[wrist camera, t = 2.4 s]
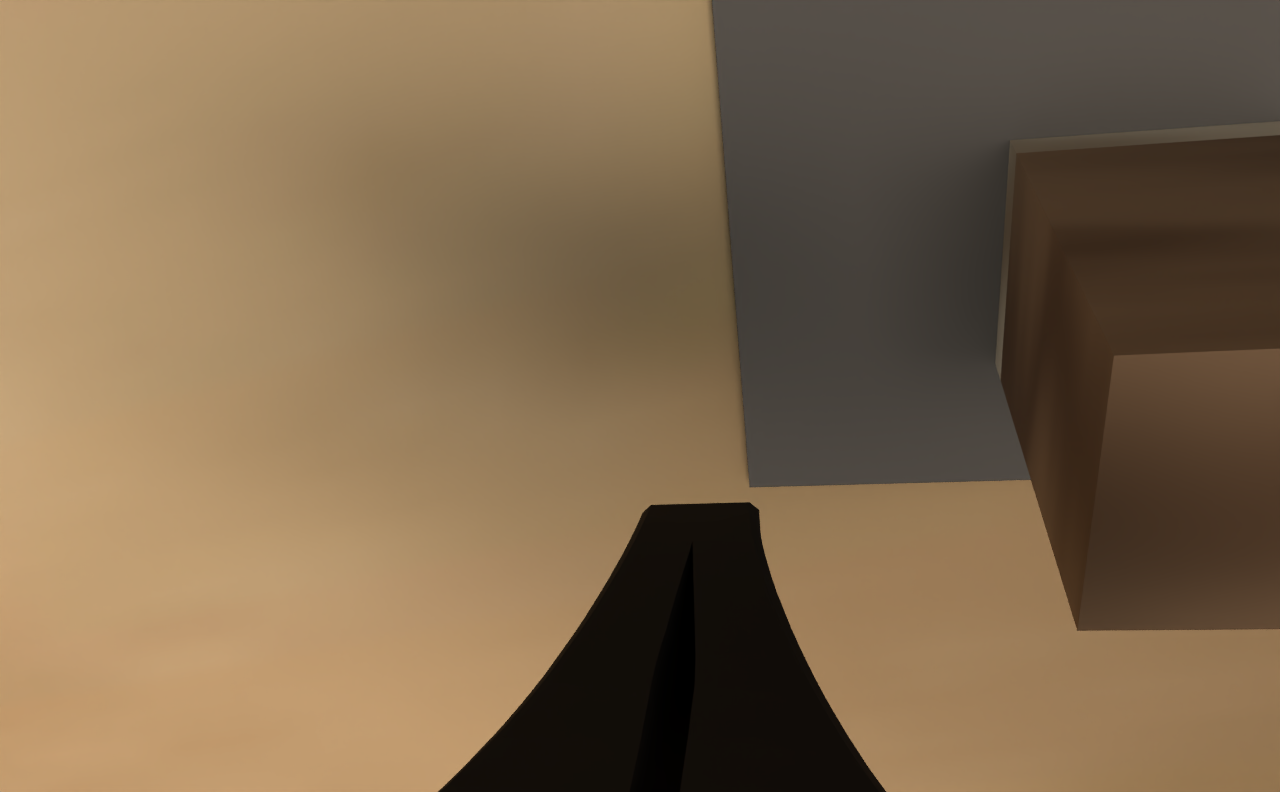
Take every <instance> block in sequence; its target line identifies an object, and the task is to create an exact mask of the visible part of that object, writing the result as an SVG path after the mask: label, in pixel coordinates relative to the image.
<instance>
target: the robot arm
mask: <svg viewBox="0 0 1280 792" xmlns="http://www.w3.org/2000/svg"><path fill="white" fill-rule="evenodd" d="M438 792H886V791H885V790H884V788H883V787H882V785H881V784H880V783H879V781H878V780H877V779H876V777H875V776H874V775H873V773H872V772H871V771H870V769H869V768H868V766H867V765H866V763H865V762H864V760H863V758H862V757H861V755H860V754H859V752H858V751H857V749H856V748H855V746H854V745H853V743H852V742H851V740H850V738H849V737H848V735H847V734H846V732H845V730H844V729H843V727H842V725H841V724H840V722H839V720H838V719H837V717H836V715H835V714H834V712H833V710H832V709H831V707H830V705H829V703H828V701H827V700H826V698H825V696H824V694H823V692H822V691H821V689H820V687H819V685H818V683H817V681H816V679H815V677H814V675H813V673H812V671H811V669H810V667H809V665H808V663H807V661H806V659H805V657H804V655H803V653H802V651H801V649H800V647H799V645H798V643H797V640H796V638H795V636H794V634H793V631H792V629H791V627H790V624H789V622H788V619H787V617H786V614H785V612H784V609H783V607H782V604H781V602H780V599H779V597H778V594H777V592H776V589H775V586H774V583H773V580H772V577H771V574H770V570H769V567H768V564H767V560H766V557H765V553H764V549H763V545H762V540H761V533H760V519H759V510H758V509H757V508H756V507H755V506H753V505H752V504H751V503H749V502H746V503H709V504H672V505H651V506H649V507H648V508H647V509H646V510H645V511H644V512H643V514H642V516H641V518H640V520H639V523H638V525H637V527H636V529H635V531H634V533H633V535H632V537H631V539H630V541H629V543H628V545H627V547H626V549H625V551H624V553H623V554H622V556H621V558H620V560H619V562H618V564H617V565H616V567H615V569H614V571H613V572H612V574H611V576H610V578H609V579H608V581H607V583H606V584H605V586H604V588H603V589H602V591H601V592H600V594H599V596H598V597H597V599H596V601H595V602H594V604H593V605H592V607H591V609H590V610H589V612H588V613H587V615H586V617H585V618H584V620H583V621H582V623H581V624H580V626H579V627H578V629H577V630H576V632H575V633H574V635H573V636H572V637H571V639H570V640H569V642H568V643H567V644H566V646H565V647H564V649H563V650H562V651H561V653H560V654H559V656H558V657H557V658H556V660H555V661H554V663H553V664H552V665H551V667H550V668H549V670H548V671H547V672H546V674H545V675H544V676H543V678H542V679H541V680H540V681H539V683H538V684H537V685H536V686H535V688H534V689H533V690H532V692H531V693H530V694H529V695H528V696H527V698H526V699H525V700H524V701H523V703H522V704H521V705H520V706H519V707H518V708H517V710H516V711H515V712H514V713H513V714H512V715H511V717H510V718H509V719H508V720H507V721H506V722H505V724H504V725H503V726H502V727H501V728H500V729H499V730H498V731H497V733H496V734H495V735H494V736H493V737H492V738H491V739H490V740H489V741H488V742H487V743H486V744H485V745H484V746H483V747H482V748H481V749H480V750H479V751H478V753H477V754H476V755H475V756H474V757H473V758H472V759H471V760H470V761H469V762H468V763H467V764H466V765H465V766H464V767H463V768H462V769H461V770H460V771H459V772H458V773H457V774H456V775H455V776H454V777H453V778H452V779H451V780H450V781H449V782H448V783H447V784H446V785H445V786H444V787H443V788H442V789H440V790H439V791H438Z"/></svg>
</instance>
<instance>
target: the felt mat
mask: <svg viewBox="0 0 1280 792" xmlns="http://www.w3.org/2000/svg"><path fill="white" fill-rule="evenodd" d="M712 6H713V19H714V32H715V45H716V58H717V71H718V84H719V97H720V110H721V122H722V135H723V148H724V161H725V174H726V187H727V200H728V213H729V226H730V239H731V252H732V265H733V278H734V291H735V303H736V316H737V329H738V342H739V355H740V368H741V381H742V394H743V407H744V420H745V433H746V446H747V459H748V471H749V484H750V487H780V486H817V485H854V484H892V483H929V482H966V481H1003V480H1031V478H1030V475H1029V472H1028V468H1027V465H1026V462H1025V459H1024V455H1023V452H1022V449H1021V446H1020V442H1019V439H1018V436H1017V433H1016V429H1015V426H1014V423H1013V420H1012V416H1011V413H1010V410H1009V407H1008V403H1007V400H1006V397H1005V394H1004V390H1003V387H1002V384H1001V381H1000V377H999V374H998V371H997V368H996V364H995V359H996V344H997V329H998V314H999V299H1000V284H1001V269H1002V254H1003V239H1004V224H1005V209H1006V194H1007V179H1008V164H1009V149H1010V140H1020V139H1034V138H1048V137H1062V136H1076V135H1090V134H1104V133H1119V132H1133V131H1147V130H1161V129H1175V128H1189V127H1203V126H1218V125H1232V124H1246V123H1260V122H1274V121H1280V0H712Z"/></svg>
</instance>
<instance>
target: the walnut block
mask: <svg viewBox="0 0 1280 792" xmlns="http://www.w3.org/2000/svg"><path fill="white" fill-rule="evenodd" d="M995 364H996V368H997V371H998V374H999V377H1000V381H1001V384H1002V387H1003V390H1004V394H1005V397H1006V400H1007V403H1008V407H1009V410H1010V413H1011V416H1012V420H1013V423H1014V426H1015V429H1016V433H1017V436H1018V439H1019V442H1020V446H1021V449H1022V452H1023V455H1024V459H1025V462H1026V465H1027V468H1028V472H1029V475H1030V478H1031V481H1032V485H1033V488H1034V491H1035V494H1036V498H1037V501H1038V504H1039V507H1040V511H1041V514H1042V517H1043V520H1044V524H1045V527H1046V530H1047V533H1048V537H1049V540H1050V543H1051V546H1052V550H1053V553H1054V556H1055V559H1056V563H1057V566H1058V569H1059V572H1060V576H1061V579H1062V582H1063V585H1064V589H1065V592H1066V595H1067V598H1068V602H1069V605H1070V608H1071V611H1072V615H1073V618H1074V621H1075V624H1076V628H1077V631H1087V630H1221V629H1280V121H1274V122H1260V123H1246V124H1232V125H1218V126H1203V127H1189V128H1175V129H1161V130H1147V131H1133V132H1119V133H1104V134H1090V135H1076V136H1062V137H1048V138H1034V139H1020V140H1010V149H1009V164H1008V179H1007V194H1006V209H1005V224H1004V239H1003V254H1002V269H1001V284H1000V299H999V314H998V329H997V344H996V359H995Z"/></svg>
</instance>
